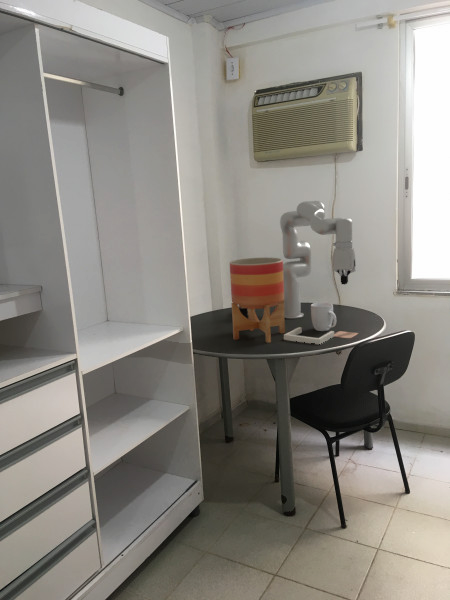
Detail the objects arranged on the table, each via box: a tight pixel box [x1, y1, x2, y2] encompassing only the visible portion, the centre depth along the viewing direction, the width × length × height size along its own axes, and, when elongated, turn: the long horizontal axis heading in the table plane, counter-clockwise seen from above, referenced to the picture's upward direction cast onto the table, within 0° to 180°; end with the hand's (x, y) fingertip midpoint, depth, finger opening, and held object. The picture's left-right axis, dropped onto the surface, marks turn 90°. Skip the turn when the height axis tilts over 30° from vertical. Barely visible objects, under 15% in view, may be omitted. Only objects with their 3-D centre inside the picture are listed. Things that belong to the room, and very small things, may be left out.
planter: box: [229, 256, 286, 344], centre depth 243 cm, size 27×27×38 cm
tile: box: [333, 330, 360, 339], centre depth 240 cm, size 10×10×1 cm
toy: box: [238, 306, 256, 319], centre depth 294 cm, size 12×7×30 cm
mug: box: [310, 302, 338, 332], centre depth 248 cm, size 15×11×13 cm
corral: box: [283, 326, 335, 345], centre depth 237 cm, size 19×16×2 cm
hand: (344, 283), depth 235 cm, fingers closed
